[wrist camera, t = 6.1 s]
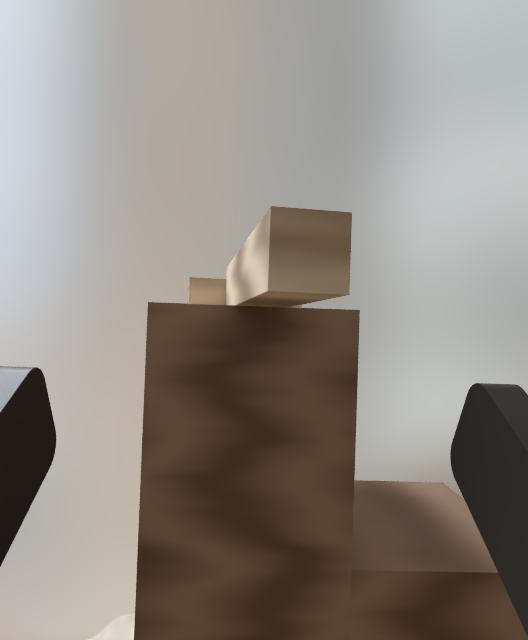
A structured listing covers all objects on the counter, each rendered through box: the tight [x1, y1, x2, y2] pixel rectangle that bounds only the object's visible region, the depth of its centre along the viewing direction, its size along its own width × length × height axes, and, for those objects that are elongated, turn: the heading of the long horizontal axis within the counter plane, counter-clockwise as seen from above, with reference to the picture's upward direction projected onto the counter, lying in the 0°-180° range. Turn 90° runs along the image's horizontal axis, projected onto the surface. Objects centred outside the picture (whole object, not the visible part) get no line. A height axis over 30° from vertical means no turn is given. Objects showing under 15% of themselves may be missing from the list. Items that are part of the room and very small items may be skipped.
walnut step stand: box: [134, 302, 528, 640], centre depth 27 cm, size 18×12×32 cm
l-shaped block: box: [188, 206, 352, 308], centre depth 23 cm, size 21×6×2 cm, turn 9°
